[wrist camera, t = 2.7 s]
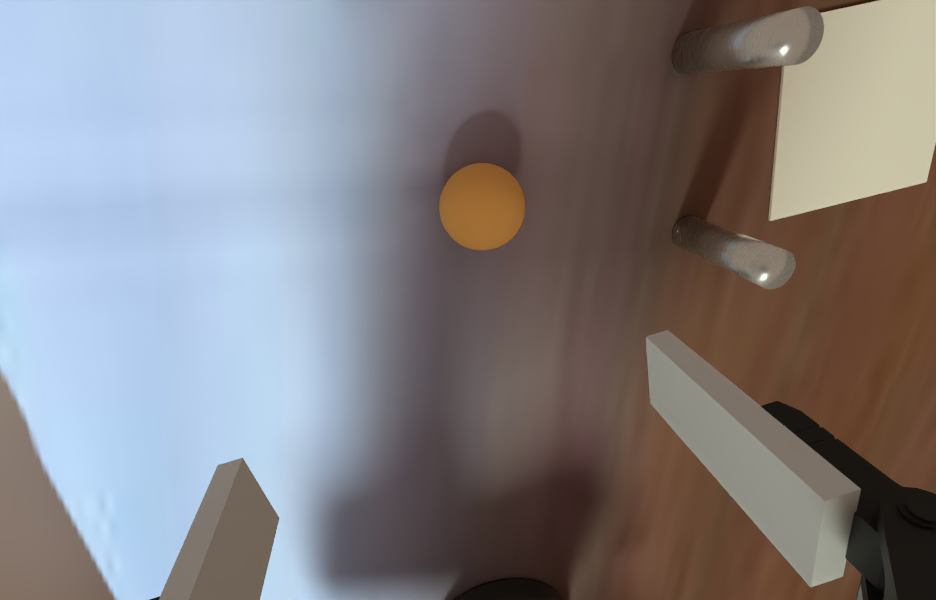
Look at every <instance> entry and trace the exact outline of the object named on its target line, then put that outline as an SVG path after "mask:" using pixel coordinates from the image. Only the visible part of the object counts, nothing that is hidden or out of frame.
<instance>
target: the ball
mask: <svg viewBox="0 0 936 600" xmlns="http://www.w3.org/2000/svg"><path fill="white" fill-rule="evenodd" d="M439 211H440V217H441V221H442V224H443V226H444V228H445V230H446V231H447V233H448V234H449V235H450V236H451V238H453V239H454V240H455V241H456V242H457V243H459V244H460V245H462V246H464V247H466V248H469V249H473V250H480V251H482V250H491V249H495V248H498V247H500V246H502V245H504V244H505V243H507V242H508V241H509V240H511V239H512V238H513V237H514V236H515V234H516V233H517V232H518V230H519V228H520V226H521V224H522V222H523V219H524V214H525V198H524V194H523V191H522V189H521V187H520V185H519V183H518V181H517V180H516V179H515V178H514V176H513V175H512V174H510V173H509V172H508V171H507V170H505V169H504V168H502V167H500V166H497V165H494V164H490V163H475V164H471V165H468V166H466V167H463V168H462V169H460V170H458V171H457V172H456V173H455V174H453V175H452V176H451V178H450V179H449V180H448V181H447V183H446V184H445V186H444V188H443V191H442V193H441V197H440V203H439Z"/></svg>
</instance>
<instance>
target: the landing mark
mask: <svg viewBox="0 0 936 600" xmlns="http://www.w3.org/2000/svg"><path fill="white" fill-rule="evenodd" d="M820 14H821V15H822V18H823V21H824V33H823V38H822V41H821V43H820V45H819V47H818V49H817V50H816V52H815V53H814V54H813V55H812V56H811V57H810V58H809V59H808V60H807V61H805V62H803V63H801V64H798V65H788V66H782V73H781V84H780V95H779V106H778V117H777V128H776V139H775V151H774V162H773V173H772V184H771V195H770V206H769V217H768V221H772V220H776V219H780V218H784V217H788V216H792V215H796V214H800V213H804V212H808V211H812V210H816V209H820V208H824V207H828V206H832V205H836V204H840V203H844V202H848V201H852V200H856V199H860V198H864V197H868V196H872V195H877V194H881V193H885V192H889V191H893V190H897V189H901V188H905V187H909V186H913V185H917V184H921V183H925V182H927V178H928V173H929V169H930V165H931V161H932V156H933V152H934V148H935V143H936V0H879V1H874V2H869V3H865V4H860V5H855V6H851V7H846V8H841V9H836V10H832V11H827V12H822V13H820Z"/></svg>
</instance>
